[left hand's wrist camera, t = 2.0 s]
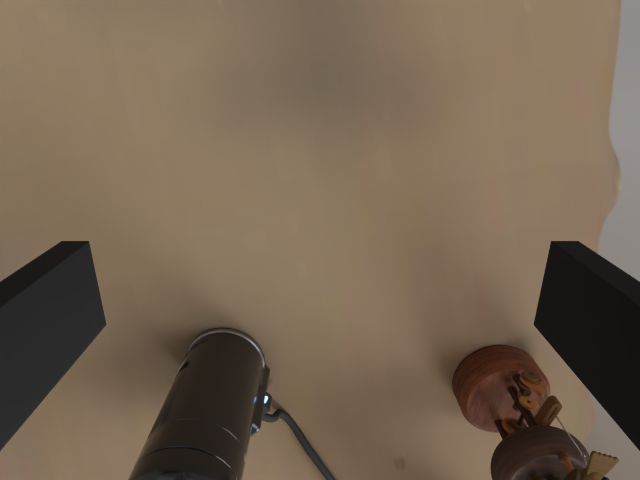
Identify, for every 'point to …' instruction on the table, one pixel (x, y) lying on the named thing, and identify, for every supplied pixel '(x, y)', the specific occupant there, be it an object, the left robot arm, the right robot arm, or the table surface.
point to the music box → (522, 419)
